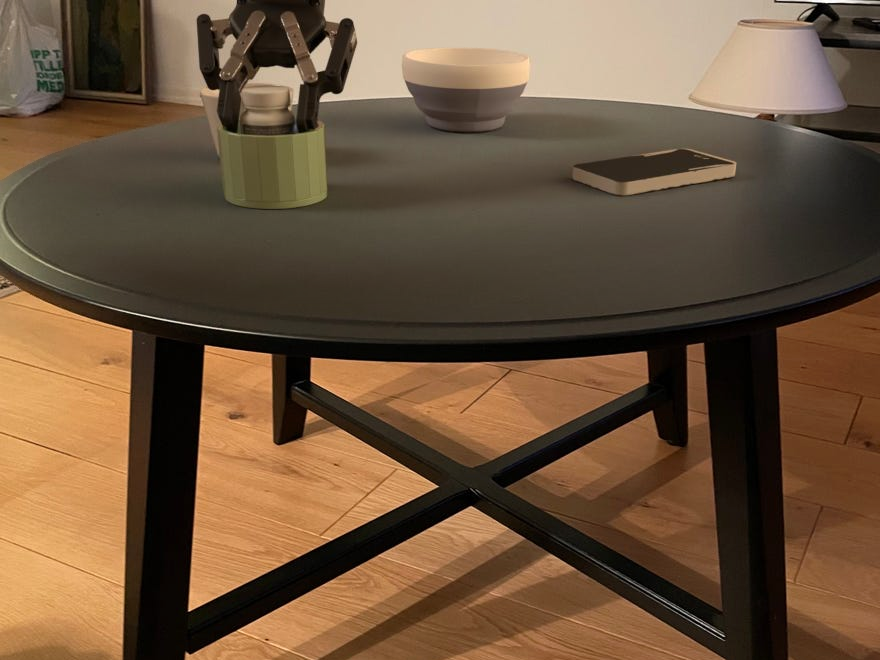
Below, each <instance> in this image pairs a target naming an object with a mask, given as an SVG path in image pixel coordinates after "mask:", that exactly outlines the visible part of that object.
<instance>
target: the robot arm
mask: <svg viewBox="0 0 880 660" xmlns="http://www.w3.org/2000/svg"><path fill="white" fill-rule="evenodd" d="M325 5H326V0H236V4H235V7H234V9H233V10H232V11H231V12H230V14H229V16H228V18H221V19H213V20H212V19H211V16H210V15H209V14H207V13H201V14H198V16H197V17H196V33H197V37H196V38H197V51H198V67H199V70H200V71H199V72H200V73H201V75H202V77H203V80H204V82H205V84H206V87H208V88H209V89H210V90H217V89H218V90H219V97H218V106H217V114H218V117H219V119H220V121H221V124H222V126H225V127H226V130H227V131H229V132H232V133H237V130H238V122H239V114H240V106H241V96H240V93H241V91H242V89H243V88H244V87H245V85H246V83H249V81H253V79H254V78H255V77H256V75H257V74H258V72H259V70H260V69H261V68H272V67H281V68H284V69H297V71H298V73H299V75H300V78H301V81H302V82H303V83H300V84H299V90H298V100H297V109H296V116H297V117H296V124H297V128H298V131H299V133H304V132H308V131H310V129H315V127H316V126H317V122H318V121H319V113H320V112H319V111H320V101H321V98H322V96H324V95H326V94H329V93H331V94H333V95H339V94H342V93H343V91H344V89H345V85H346V82H347V79H348V75H349V73H350V69H351V67H352V63H353V59H354V55H355V53H356V49H357V46H358V39H357V33H356V27H355V23H354V20H353V19H351V18H349V17H344V18H342V19H341V20H340V21H339V22H335V21H328V20H327V19H326V17H325V8H326V7H325ZM230 35H232V36H233V38H234V39H235V42H234V43H233V45H232V46H231V48H230V52H229V53H230V55H229V57H228V59H227V60H226V62H225V64H224V65H223V66H222V67H221V65H220V51H219V50H222V49H224V45H225V44H226V39H227V37H229V36H230ZM326 38H328V39H329V45H330V47H331V50H330V53H329V57H328V59H327V63H326V66H325V69H324V70H321V71H317V70H316V67H315V64H314V62H313V59H312V57H311V54H312V53H313V52H314V51H315V50H316V49H317V48H318V47H319V46H320V45H321V44H322V43H323V41H325V39H326ZM295 66H296V67H295Z"/></svg>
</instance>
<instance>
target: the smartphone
mask: <svg viewBox="0 0 880 660" xmlns="http://www.w3.org/2000/svg"><path fill="white" fill-rule="evenodd" d="M736 170H737V162H736V161H733V160H730V159H727V158H723V157H720V156H716V155H713V154H709V153H706V152H702V151H699V150H695V149H691V148H676V149H668V150H662V151H661V150H660V151H655V152H649V153H648V152H647V153H642V154H635V155H630V156H629V155H627V156H623V157H616V158H615V157H614V158H610V159H601V160H595V161H590V162H583V163H577V164H573V165H572V180H573V181H575V182H578V183H581V184H584V185H586V186H589V187H592V188H595V189H597V190H601V191H603V192H607V193H608V194H612V195H614V196H615V195H616V196H620V197H622V196H624V197H625V196H632V195H637V194H642V193H643V194H644V193H648V192H656V191H660V190H667V189H671V188H672V189H673V188H677V187H682V186H688V185H694V184H700V183H706V182H712V181H717V180H722V179H729V178H734V177H736Z"/></svg>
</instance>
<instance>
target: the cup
mask: <svg viewBox="0 0 880 660" xmlns="http://www.w3.org/2000/svg"><path fill="white" fill-rule="evenodd" d="M296 117H297V115H295V118H296ZM296 130H297V134H290V135H275V136H258V135H245V134H241V126H240V118H239V122H238V130H237V133H232V132H229V131H227V130H226V127H225V126H222V124H221V123H220V124H219V125H218V126H217V134H218V144H219V154H220V157H219V163H220V172H221V181H222V183H221V184H222V189H223V190H222V191H223V195H224V200H226V202H228V203H230V204H232V205H235V206H238V207H241V208H247V209H257V210H284V209H285V210H286V209H293V208H296V209H297V208H302V207H307V206H311V205H314V204H318V203H320V202H322V201H325V199H326V198H327V197H328V187H329V184H328V183H329V182H328V168H327V167H328V166H327V148H326V147H327V146H326V129H325V123H323V121H320V120H318V122H317V126H316V127H315V129H310V131H308V132H304V133H299V131H298V128H297V124H296Z"/></svg>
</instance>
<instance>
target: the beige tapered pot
mask: <svg viewBox="0 0 880 660" xmlns="http://www.w3.org/2000/svg"><path fill="white" fill-rule="evenodd" d="M263 85H275V86H284V87H288V88H289V91H290V100H291V102H290V106H289V107H288V109H289V110H290V111H291V112H293V101H294V88H292V87H290V86H288V85H283V84H276V83H265V82H247V83H246V85H245V87H244V88H247V87H252V86H263ZM244 88H243V89H244ZM199 95H200V98H201V102H202V105H203V110H204V112H205V116H206V119H207V124H208V128H209V130H210V134H211V137H212V141H213V145H214V148H215V151H216V154H217V156H218V158H220V154H219V144H218V134H217V126H218V125H219V124H220V123H221V121H220V119H219V117H218V114H217V106H218V97H219V90H218V89H217V90H210V89H209V88H208V87H207V86H206V87H204V88H201V89H200V90H199ZM240 96H241V106H240V114H239V118H240V117H241V114H242V113H243V112H244V111H246V108H244V107H243V101H242V91H241V93H240Z"/></svg>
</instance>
